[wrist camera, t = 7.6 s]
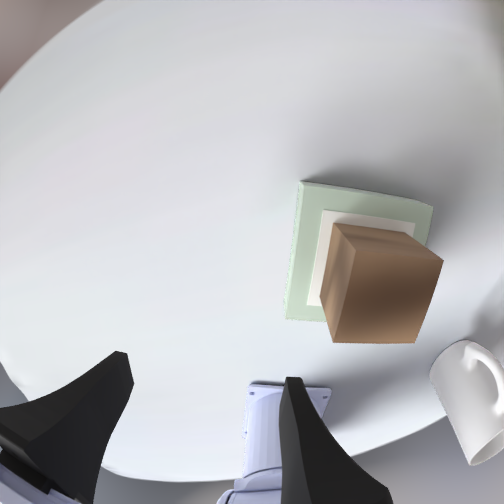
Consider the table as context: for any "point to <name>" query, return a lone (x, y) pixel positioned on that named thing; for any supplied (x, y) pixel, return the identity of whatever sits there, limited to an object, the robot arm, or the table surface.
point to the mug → (472, 397)
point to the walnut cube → (377, 285)
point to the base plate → (319, 233)
